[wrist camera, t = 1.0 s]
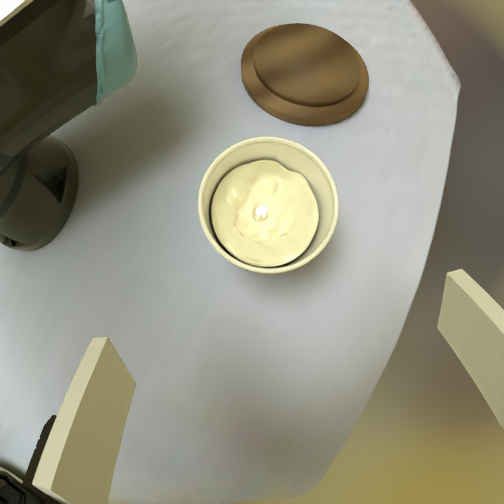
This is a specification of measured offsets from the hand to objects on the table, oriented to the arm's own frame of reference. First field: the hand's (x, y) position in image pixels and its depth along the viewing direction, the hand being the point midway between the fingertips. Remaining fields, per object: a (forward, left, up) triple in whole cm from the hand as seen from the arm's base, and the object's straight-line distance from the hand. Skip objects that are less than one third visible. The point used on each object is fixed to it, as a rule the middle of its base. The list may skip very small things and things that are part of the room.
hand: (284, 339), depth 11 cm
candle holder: (-5, +5, -22) cm, 23 cm away
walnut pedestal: (-16, +23, -22) cm, 36 cm away
